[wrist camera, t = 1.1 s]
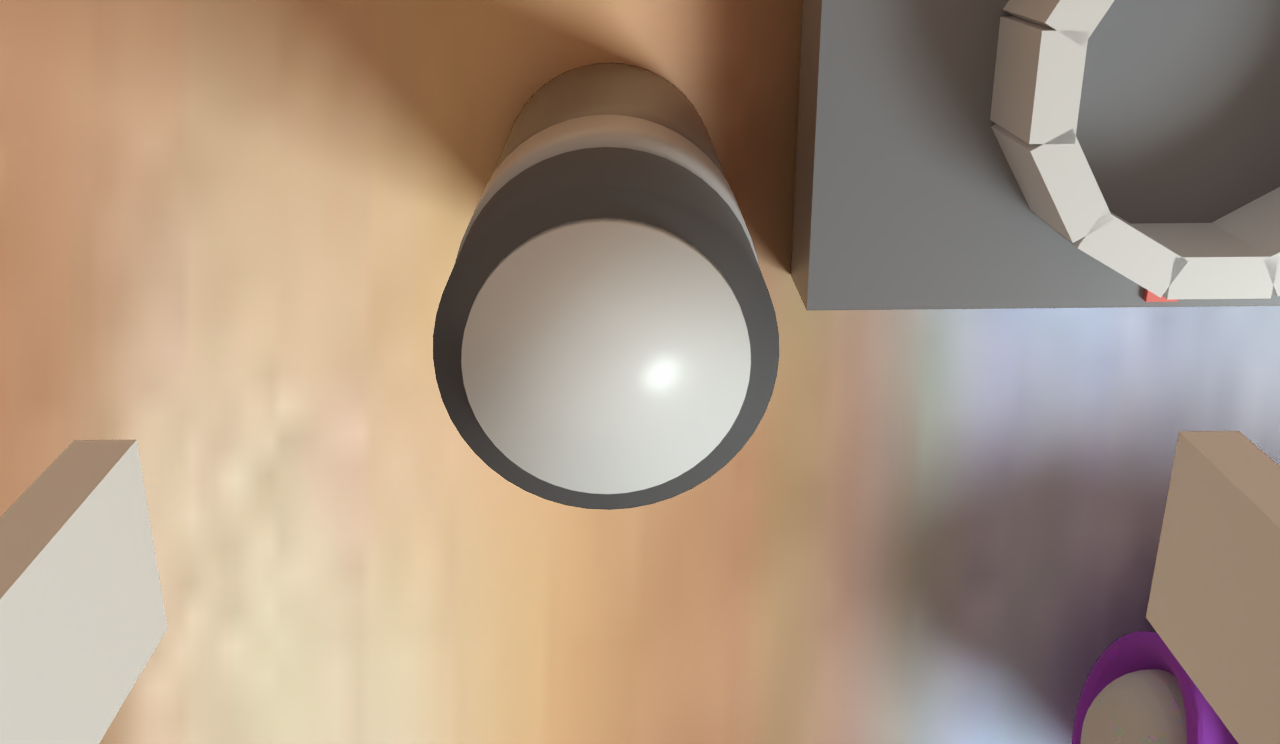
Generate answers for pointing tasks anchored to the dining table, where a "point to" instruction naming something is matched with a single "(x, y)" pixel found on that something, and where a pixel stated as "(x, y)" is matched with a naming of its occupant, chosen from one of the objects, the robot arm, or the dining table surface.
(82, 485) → the robot arm
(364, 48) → the dining table surface
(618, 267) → the lens
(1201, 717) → the toy camera
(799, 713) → the dining table surface
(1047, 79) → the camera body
